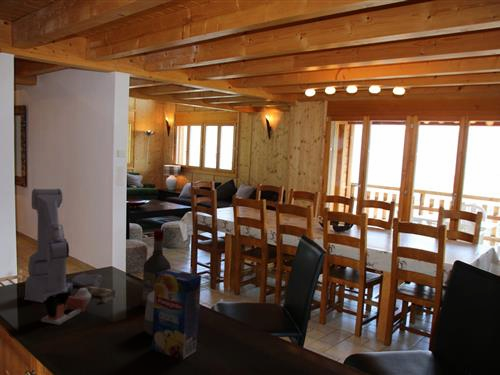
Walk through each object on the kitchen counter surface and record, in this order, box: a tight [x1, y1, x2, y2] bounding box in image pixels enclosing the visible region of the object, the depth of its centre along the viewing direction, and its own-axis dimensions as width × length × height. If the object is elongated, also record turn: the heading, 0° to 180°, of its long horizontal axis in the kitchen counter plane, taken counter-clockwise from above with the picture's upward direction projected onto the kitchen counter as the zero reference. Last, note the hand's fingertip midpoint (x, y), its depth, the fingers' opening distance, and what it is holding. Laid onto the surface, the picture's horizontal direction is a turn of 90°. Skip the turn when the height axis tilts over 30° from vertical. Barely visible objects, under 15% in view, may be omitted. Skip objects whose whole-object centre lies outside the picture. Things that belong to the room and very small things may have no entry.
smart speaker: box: [143, 291, 155, 337], centre depth 143 cm, size 10×9×14 cm
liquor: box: [141, 229, 172, 309], centre depth 167 cm, size 9×9×30 cm
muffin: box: [73, 287, 92, 307], centre depth 163 cm, size 6×6×7 cm
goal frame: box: [85, 286, 116, 304], centre depth 172 cm, size 12×7×3 cm, turn 76°
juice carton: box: [151, 268, 202, 361], centre depth 132 cm, size 12×8×24 cm, turn 62°
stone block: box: [70, 272, 104, 288], centre depth 187 cm, size 12×5×10 cm
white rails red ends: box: [40, 295, 86, 325], centre depth 153 cm, size 8×14×5 cm, turn 166°
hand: (55, 314), depth 149 cm, fingers closed on white rails red ends, 4 cm apart
